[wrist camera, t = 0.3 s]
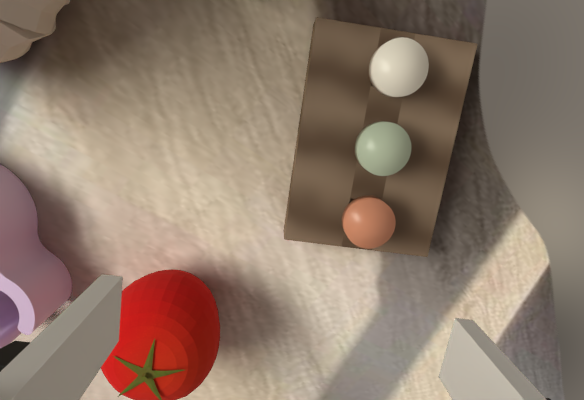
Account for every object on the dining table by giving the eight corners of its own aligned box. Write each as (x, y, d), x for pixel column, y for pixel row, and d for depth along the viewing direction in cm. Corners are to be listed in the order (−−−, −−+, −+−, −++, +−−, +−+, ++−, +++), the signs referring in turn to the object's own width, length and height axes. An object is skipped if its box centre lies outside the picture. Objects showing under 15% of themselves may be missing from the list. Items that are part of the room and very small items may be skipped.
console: (313, 24, 38) (316, 17, 35) (462, 48, 39) (477, 43, 36) (283, 230, 42) (284, 239, 39) (417, 246, 43) (427, 256, 40)
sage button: (355, 117, 37) (363, 118, 34) (403, 124, 38) (416, 126, 34) (346, 166, 38) (353, 172, 35) (393, 173, 39) (405, 179, 35)
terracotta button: (342, 188, 39) (349, 195, 35) (389, 194, 39) (400, 202, 36) (334, 233, 40) (340, 245, 36) (380, 239, 40) (390, 251, 37)
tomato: (118, 260, 42) (52, 323, 30) (216, 244, 42) (192, 300, 30) (144, 350, 45) (93, 443, 32) (236, 335, 45) (221, 422, 32)
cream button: (368, 40, 36) (378, 33, 32) (419, 48, 36) (434, 42, 33) (359, 93, 37) (368, 92, 33) (408, 101, 37) (421, 100, 34)
